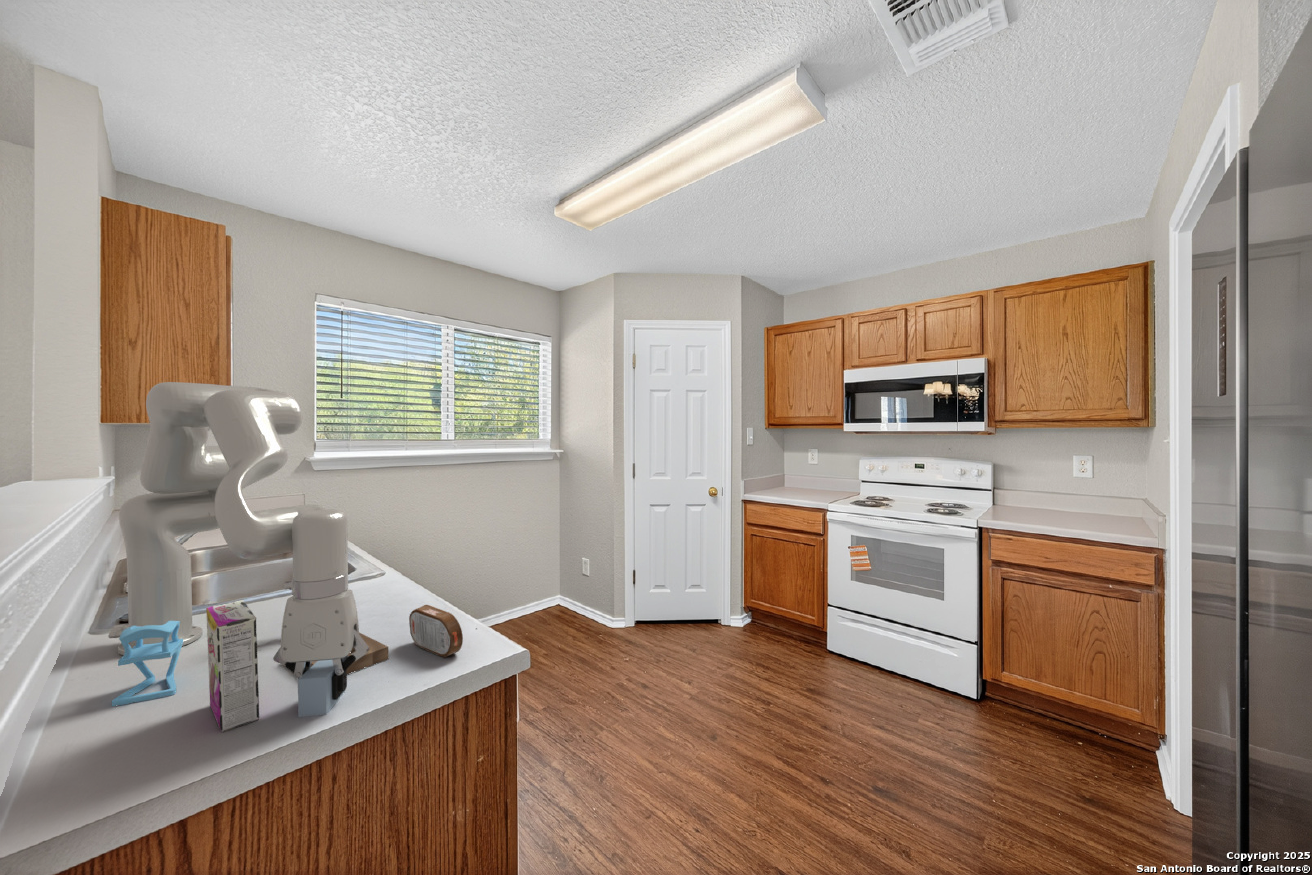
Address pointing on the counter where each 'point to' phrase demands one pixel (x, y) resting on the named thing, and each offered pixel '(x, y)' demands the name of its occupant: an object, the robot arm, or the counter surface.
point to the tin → (435, 630)
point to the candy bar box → (232, 664)
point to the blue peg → (316, 690)
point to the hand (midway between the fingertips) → (323, 695)
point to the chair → (149, 658)
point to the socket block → (367, 655)
